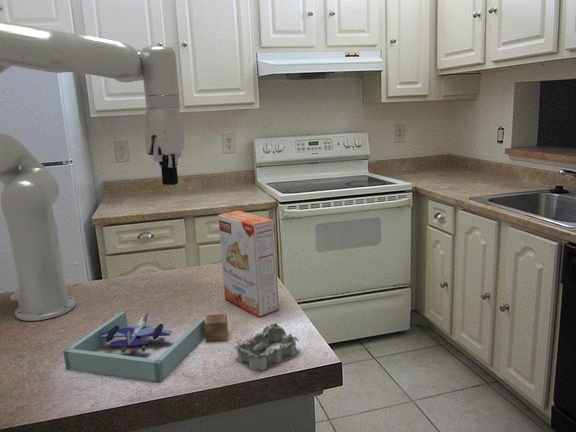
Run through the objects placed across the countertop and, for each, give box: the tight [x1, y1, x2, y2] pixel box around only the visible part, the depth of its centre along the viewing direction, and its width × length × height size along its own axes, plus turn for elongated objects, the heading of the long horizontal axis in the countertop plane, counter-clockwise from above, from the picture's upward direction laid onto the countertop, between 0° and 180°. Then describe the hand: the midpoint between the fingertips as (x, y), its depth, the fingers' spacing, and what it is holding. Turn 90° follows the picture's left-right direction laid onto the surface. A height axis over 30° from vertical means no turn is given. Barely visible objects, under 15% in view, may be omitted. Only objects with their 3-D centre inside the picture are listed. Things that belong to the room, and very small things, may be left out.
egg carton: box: [233, 322, 300, 371], centre depth 87 cm, size 11×8×4 cm
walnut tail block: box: [204, 313, 229, 344], centre depth 95 cm, size 4×4×4 cm
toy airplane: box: [99, 311, 173, 353], centre depth 94 cm, size 13×14×4 cm
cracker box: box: [218, 210, 280, 318], centre depth 108 cm, size 14×6×21 cm, turn 39°
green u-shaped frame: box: [63, 310, 206, 383], centre depth 90 cm, size 19×17×4 cm
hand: (170, 184), depth 113 cm, fingers closed
